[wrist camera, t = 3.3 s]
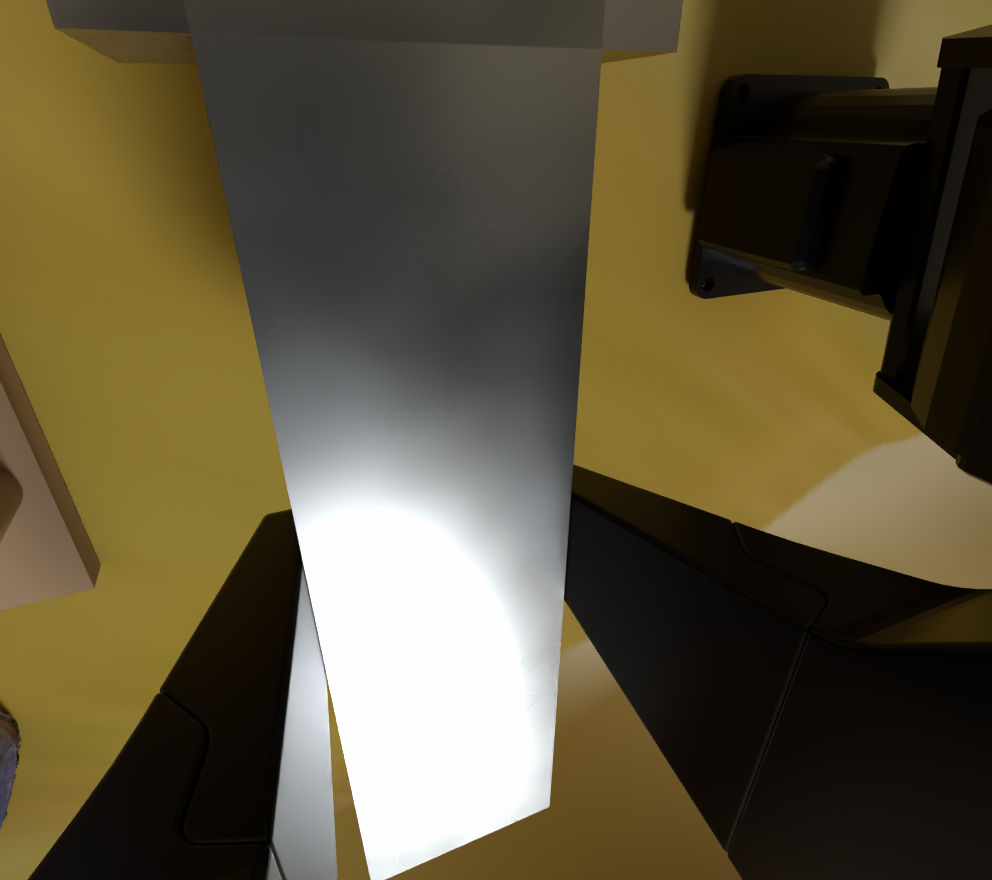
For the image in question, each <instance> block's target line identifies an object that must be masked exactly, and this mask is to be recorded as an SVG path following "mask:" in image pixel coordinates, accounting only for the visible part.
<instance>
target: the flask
mask: <svg viewBox="0 0 992 880" xmlns="http://www.w3.org/2000/svg"><path fill="white" fill-rule="evenodd" d="M17 728H18V726H17V723H16V721H15V722H13V721H12V715H9V714H4V713H2V712H1V711H0V829H1V828H2V827H1V826H2V822H3V820H4V819H5V817H6V816H7V812H6V811H7V806H8V803H9V799H10V797H11V793H12V786H13V783H14V779H15V776H16V775H15V774H14V773H15V770H16V768H17V765H19V764H18V762H19V755H18V752H19V749H20V746H21V744H20V742H21V741H20V740H19V739H20V736H19V730H18V729H17Z"/></svg>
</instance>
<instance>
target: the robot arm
mask: <svg viewBox="0 0 992 880" xmlns="http://www.w3.org/2000/svg"><path fill="white" fill-rule="evenodd" d="M937 67H939V68H941V73H940V78H939V83H938V87H929V88H900V89H889V83H888V82H887V80H886V79H884V78H874V77H835V76H797V75H758V74H742V75H734V76H731V77H729V78H728V79H727V80H726V81H725V83H724V84H723V86H722V88H721V91H720V94H719V100H718V107H717V113H716V119H715V125H714V131H713V138H712V144H711V150H710V156H709V162H708V169H707V175H706V181H705V187H704V193H703V200H702V206H701V212H700V218H699V224H698V231H697V237H696V243H695V249H694V255H693V262H692V268H691V274H690V280H689V289H690V292H691V293H692V294H693V295H695V296H697V297H700V298H704V299H709V298H716V297H724V296H731V295H739V294H747V293H754V292H762V291H769V290H777V289H784V288H787V289H791V290H794V291H797V292H800V293H803V294H806V295H810V296H813V297H816V298H819V299H822V300H826V301H829V302H832V303H835V304H838V305H842V306H845V307H848V308H851V309H854V310H858V311H861V312H864V313H867V314H870V315H874V316H877V317H880V318H883V319H886V320H890V326H889V331H888V336H887V341H886V346H885V351H884V356H883V361H882V366H881V371H879V372H877V373H876V378H875V383H874V388H873V391H874V393H876V394H877V395H878V396H879V397H880V398H882V399H883V400H884V401H885V402H886V403H888V404H889V405H890V406H891V407H892V408H894V409H895V410H896V411H897V412H899V413H900V414H901V415H902V416H903V417H905V418H906V419H907V420H908V421H909V422H911V423H912V424H913V425H914V426H915V427H917V428H918V429H919V430H920V431H922V432H923V433H924V434H925V435H926V436H928V437H929V438H930V439H931V440H932V441H934V442H935V443H936V444H937V445H938V446H940V447H941V448H942V449H943V450H945V451H946V452H947V453H948V454H949V455H951V456H952V457H953V458H954V459H955V460H956V464H957V466H958V467H959V468H960V469H961V470H962V471H964V472H965V473H966V474H967V475H969V476H971V477H974V478H976V479H978V480H980V481H982V482H985V483H987V484H989V485H991V486H992V25H988V26H985V27H981V28H977V29H973V30H970V31H966V32H962V33H958V34H955V35H951V36H947V37H944V38H943V39H942V44H941V49H940V54H939V59H938V64H937ZM738 88H739V89H740V96H739V99H738V101H736V92H737V89H738ZM706 278H707V282H706V285H705V286H704V287H703V283H704V280H705V279H706ZM564 600H565V602H566V603H567V605H568V606H569V608H570V609H571V611H572V613H573V614H574V616H575V617H576V619H577V620H578V622H579V624H580V625H581V627H582V628H583V630H584V631H585V633H586V635H587V636H588V638H589V639H590V641H591V642H592V644H593V645H594V647H595V649H596V650H597V652H598V653H599V655H600V656H601V658H602V659H603V661H604V662H605V664H606V666H607V667H608V669H609V671H610V672H611V673H612V675H613V677H614V678H615V680H616V682H617V683H618V685H619V686H620V688H621V689H622V691H623V693H624V694H625V696H626V697H627V699H628V700H629V702H630V703H631V705H632V707H633V708H634V710H635V711H636V713H637V714H638V716H639V717H640V719H641V721H642V722H643V724H644V725H645V727H646V729H647V730H648V732H649V733H650V735H651V736H652V738H653V739H654V741H655V743H656V744H657V746H658V747H659V749H660V750H661V752H662V754H663V755H664V757H665V758H666V760H667V761H668V763H669V764H670V766H671V768H672V769H673V771H674V772H675V774H676V775H677V777H678V779H679V780H680V782H681V783H682V785H683V786H684V788H685V790H686V791H687V793H688V794H689V796H690V798H691V799H692V801H693V802H694V804H695V805H696V807H697V808H698V810H699V812H700V813H701V815H702V816H703V818H704V819H705V821H706V823H707V824H708V826H709V827H710V829H711V830H712V832H713V833H714V835H715V837H716V838H717V840H718V841H719V843H720V844H721V846H722V848H723V849H724V850H725V851H726V852H728V858H729V859H730V861H731V862H732V864H733V866H734V867H735V869H736V870H737V872H738V873H739V875H740V877H741V878H742V880H992V589H971V588H960V587H953V586H947V585H942V584H938V583H934V582H930V581H926V580H923V579H919V578H916V577H912V576H909V575H905V574H902V573H899V572H895V571H892V570H888V569H885V568H881V567H878V566H874V565H871V564H867V563H864V562H860V561H857V560H854V559H850V558H846V557H843V556H840V555H836V554H833V553H829V552H826V551H823V550H819V549H816V548H813V547H809V546H806V545H803V544H800V543H796V542H793V541H790V540H787V539H784V538H781V537H778V536H775V535H772V534H769V533H766V532H763V531H760V530H757V529H755V528H752V527H749V526H746V525H743V524H741V523H738V522H734V523H733V524H732V522H731V520H729V519H726V518H723V517H721V516H718V515H715V514H712V513H709V512H706V511H704V510H701V509H698V508H695V507H692V506H689V505H687V504H684V503H681V502H678V501H675V500H672V499H670V498H667V497H664V496H661V495H658V494H655V493H653V492H650V491H647V490H644V489H641V488H638V487H636V486H633V485H630V484H627V483H624V482H621V481H619V480H616V479H613V478H610V477H607V476H605V475H602V474H599V473H596V472H593V471H590V470H588V469H585V468H582V467H579V466H576V465H573V473H572V487H571V502H570V516H569V531H568V545H567V560H566V574H565V588H564ZM28 880H337V863H336V845H335V826H334V808H333V790H332V772H331V753H330V735H329V717H328V699H327V680H326V667H325V662H324V658H323V653H322V648H321V644H320V639H319V634H318V629H317V625H316V620H315V615H314V611H313V606H312V601H311V597H310V592H309V587H308V583H307V578H306V573H305V568H304V564H303V559H302V554H301V550H300V545H299V540H298V536H297V531H296V526H295V522H294V517H293V512H292V509H289V510H285V511H280V512H276V513H271V514H267V515H266V516H265V517H264V518H263V519H262V521H261V523H260V524H259V526H258V528H257V529H256V531H255V533H254V534H253V536H252V538H251V539H250V541H249V543H248V544H247V546H246V548H245V549H244V551H243V553H242V554H241V556H240V558H239V559H238V561H237V562H236V564H235V566H234V567H233V569H232V571H231V572H230V574H229V576H228V577H227V579H226V581H225V582H224V584H223V586H222V587H221V589H220V591H219V592H218V594H217V596H216V597H215V599H214V601H213V602H212V604H211V605H210V607H209V609H208V610H207V612H206V614H205V615H204V617H203V619H202V620H201V622H200V624H199V625H198V627H197V629H196V630H195V632H194V634H193V635H192V637H191V639H190V640H189V642H188V644H187V645H186V647H185V648H184V650H183V652H182V653H181V655H180V657H179V658H178V660H177V662H176V663H175V665H174V667H173V668H172V670H171V672H170V673H169V675H168V677H167V678H166V680H165V682H164V683H163V685H162V687H161V688H160V693H158V694H157V695H156V696H155V697H154V699H153V701H152V703H151V704H150V706H149V707H148V709H147V711H146V712H145V714H144V716H143V717H142V719H141V721H140V722H139V724H138V725H137V727H136V728H135V730H134V732H133V733H132V735H131V736H130V738H129V739H128V741H127V742H126V744H125V746H124V747H123V749H122V750H121V752H120V753H119V755H118V756H117V758H116V759H115V761H114V763H113V764H112V765H111V767H110V768H109V770H108V771H107V772H106V774H105V775H104V777H103V778H102V779H101V781H100V782H99V784H98V785H97V786H96V788H95V789H94V791H93V792H92V793H91V795H90V796H89V798H88V799H87V800H86V802H85V803H84V805H83V806H82V807H81V809H80V810H79V812H78V813H77V814H76V816H75V817H74V818H73V820H72V821H71V822H70V824H69V825H68V826H67V828H66V829H65V830H64V832H63V833H62V835H61V836H60V837H59V839H58V840H57V841H56V843H55V844H54V845H53V847H52V848H51V849H50V851H49V852H48V853H47V855H46V856H45V857H44V859H43V860H42V861H41V863H40V864H39V865H38V867H37V868H36V869H35V871H34V872H33V873H32V875H31V876H30V877H29V879H28Z"/></svg>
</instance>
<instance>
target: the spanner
mask: <svg viewBox="0 0 992 880" xmlns="http://www.w3.org/2000/svg"><path fill="white" fill-rule="evenodd" d="M46 1H47V5H48V8H49V11H50V15H51V18H52V21H53V24H54V28H56V29H57V30H59V31H61V32H63V33H65V34H67V35H68V36H70V37H72V38H74V39H76V40H78V41H79V42H81V43H83V44H85V45H87V46H89V47H90V48H92V49H94V50H96V51H98V52H100V53H101V54H103V55H105V56H107V57H109V58H111V59H112V60H114V61H116V62H120V63H163V64H197V66H198V71H199V76H200V81H201V85H202V90H203V95H204V99H205V104H206V109H207V113H208V118H209V123H210V127H211V132H212V137H213V142H214V146H215V151H216V156H217V160H218V165H219V170H220V174H221V179H222V184H223V188H224V193H225V198H226V203H227V207H228V212H229V217H230V221H231V226H232V231H233V235H234V240H235V245H236V249H237V254H238V259H239V264H240V268H241V273H242V278H243V282H244V287H245V292H246V296H247V301H248V306H249V310H250V315H251V320H252V325H253V329H254V334H255V339H256V343H257V348H258V353H259V357H260V362H261V367H262V371H263V376H264V381H265V386H266V390H267V395H268V400H269V404H270V409H271V414H272V418H273V423H274V428H275V432H276V437H277V442H278V446H279V451H280V456H281V461H282V465H283V470H284V475H285V479H286V484H287V489H288V493H289V498H290V503H291V507H292V512H293V517H294V522H295V526H296V531H297V536H298V540H299V545H300V550H301V554H302V559H303V564H304V568H305V573H306V578H307V583H308V587H309V592H310V597H311V601H312V606H313V611H314V615H315V620H316V625H317V629H318V634H319V639H320V644H321V648H322V653H323V658H324V662H325V667H326V672H327V676H328V681H329V686H330V690H331V695H332V700H333V705H334V709H335V714H336V719H337V723H338V728H339V733H340V737H341V742H342V747H343V751H344V756H345V761H346V766H347V770H348V775H349V780H350V784H351V789H352V794H353V798H354V803H355V808H356V812H357V817H358V821H359V827H360V831H361V836H362V840H363V845H364V850H365V855H366V859H367V864H368V868H369V873H370V878H371V880H385V879H387V878H390V877H392V876H394V875H396V874H399V873H401V872H403V871H405V870H407V869H410V868H412V867H414V866H417V865H419V864H421V863H423V862H426V861H428V860H430V859H432V858H435V857H437V856H439V855H441V854H444V853H446V852H448V851H450V850H453V849H455V848H457V847H460V846H462V845H464V844H466V843H469V842H471V841H473V840H475V839H478V838H480V837H482V836H484V835H487V834H489V833H491V832H493V831H496V830H498V829H500V828H503V827H505V826H507V825H509V824H511V823H513V822H516V821H518V820H521V819H523V818H525V817H527V816H530V815H532V814H534V813H536V812H539V811H541V810H543V809H545V808H548V807H549V803H550V790H551V776H552V761H553V747H554V733H555V718H556V703H557V689H558V675H559V661H560V646H561V632H562V617H563V603H564V588H565V574H566V560H567V545H568V531H569V516H570V502H571V487H572V473H573V459H574V444H575V430H576V415H577V401H578V386H579V372H580V358H581V343H582V329H583V314H584V300H585V285H586V271H587V257H588V242H589V228H590V213H591V199H592V184H593V170H594V156H595V141H596V127H597V112H598V98H599V83H600V69H601V63H607V62H614V61H621V60H628V59H635V58H641V57H648V56H655V55H662V54H669V53H675V52H677V45H678V37H679V29H680V21H681V12H682V4H683V0H46Z"/></svg>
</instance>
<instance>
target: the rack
mask: <svg viewBox="0 0 992 880" xmlns="http://www.w3.org/2000/svg"><path fill="white" fill-rule="evenodd" d="M100 566H101V565H100V563H99V561H98V558H97V556H96V554H95V551H94V549H93V547H92V544H91V542H90V540H89V538H88V535H87V533H86V531H85V528H84V526H83V524H82V522H81V519H80V517H79V515H78V512H77V510H76V508H75V505H74V503H73V501H72V499H71V496H70V494H69V492H68V489H67V487H66V485H65V483H64V480H63V478H62V476H61V473H60V471H59V469H58V466H57V464H56V462H55V460H54V457H53V455H52V453H51V450H50V448H49V446H48V444H47V441H46V439H45V437H44V434H43V432H42V430H41V427H40V425H39V423H38V421H37V418H36V416H35V414H34V411H33V409H32V407H31V404H30V402H29V400H28V398H27V395H26V393H25V391H24V388H23V386H22V384H21V382H20V379H19V377H18V375H17V372H16V370H15V368H14V365H13V363H12V361H11V359H10V356H9V354H8V352H7V349H6V347H5V345H4V343H3V340H2V338H1V336H0V610H4V609H8V608H12V607H17V606H21V605H25V604H29V603H34V602H38V601H42V600H46V599H51V598H55V597H59V596H64V595H68V594H72V593H76V592H81V591H85V590H89V589H93V588H95V584H96V580H97V577H98V573H99V569H100Z"/></svg>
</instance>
